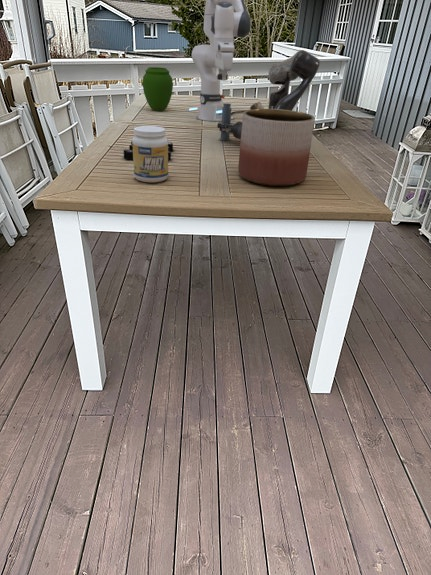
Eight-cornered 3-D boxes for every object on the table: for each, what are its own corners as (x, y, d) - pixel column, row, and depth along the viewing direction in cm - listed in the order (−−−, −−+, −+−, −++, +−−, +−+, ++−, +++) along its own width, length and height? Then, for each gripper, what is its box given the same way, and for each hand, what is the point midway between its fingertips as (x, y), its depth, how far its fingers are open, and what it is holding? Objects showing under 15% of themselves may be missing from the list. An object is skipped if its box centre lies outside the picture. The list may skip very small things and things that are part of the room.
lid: (216, 79, 192) (216, 74, 191) (218, 78, 196) (218, 73, 195) (226, 80, 191) (226, 75, 190) (228, 79, 195) (229, 74, 194)
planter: (315, 188, 145) (327, 122, 133) (246, 188, 141) (252, 121, 129) (292, 167, 166) (301, 109, 155) (231, 167, 162) (235, 107, 150)
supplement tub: (139, 184, 140) (136, 133, 131) (130, 174, 149) (127, 125, 140) (173, 181, 144) (172, 131, 135) (162, 172, 153) (161, 124, 144)
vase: (143, 107, 275) (142, 66, 262) (173, 108, 277) (172, 67, 264) (142, 112, 259) (140, 68, 246) (173, 113, 261) (173, 70, 248)
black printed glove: (122, 152, 163) (135, 135, 189) (122, 159, 165) (135, 142, 190) (169, 154, 164) (176, 137, 189) (170, 161, 165) (176, 144, 191)
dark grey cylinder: (219, 138, 205) (221, 102, 196) (228, 139, 206) (231, 102, 197) (220, 140, 202) (223, 103, 192) (229, 141, 202) (232, 104, 193)
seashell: (262, 114, 271) (264, 101, 267) (264, 116, 267) (266, 102, 262) (248, 114, 270) (249, 101, 266) (250, 115, 265) (251, 102, 261)
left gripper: (212, 44, 194) (211, 76, 202) (221, 47, 177) (220, 82, 185) (225, 44, 195) (224, 76, 203) (235, 47, 178) (234, 82, 186)
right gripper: (256, 121, 192) (234, 115, 204) (232, 124, 185) (210, 117, 196) (255, 138, 196) (233, 131, 208) (231, 141, 189) (210, 134, 200)
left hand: (222, 79), depth 194 cm, fingers closed on lid, 4 cm apart
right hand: (222, 124), depth 202 cm, fingers closed on dark grey cylinder, 4 cm apart
